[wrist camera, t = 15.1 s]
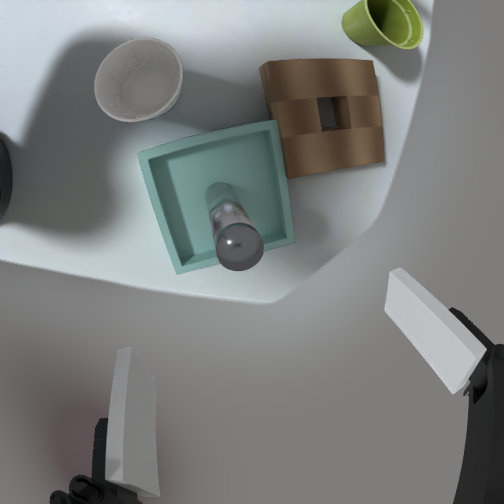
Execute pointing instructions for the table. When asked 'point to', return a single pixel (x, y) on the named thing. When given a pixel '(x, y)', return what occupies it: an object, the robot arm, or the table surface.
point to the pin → (232, 229)
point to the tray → (211, 171)
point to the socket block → (307, 114)
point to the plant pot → (384, 23)
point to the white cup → (138, 80)
